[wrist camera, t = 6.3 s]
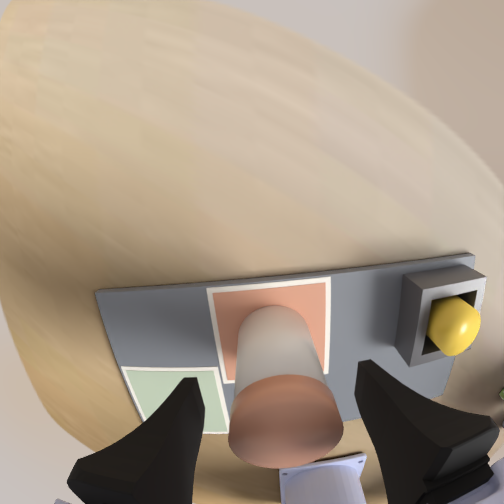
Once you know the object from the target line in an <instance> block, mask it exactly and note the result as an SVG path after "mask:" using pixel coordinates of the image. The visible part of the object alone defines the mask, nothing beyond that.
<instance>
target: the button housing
mask: <svg viewBox="0 0 504 504" xmlns="http://www.w3.org/2000/svg"><path fill="white" fill-rule="evenodd" d="M486 279H487V277H486V276H484V275H483V274H481V273H479V272H477V271H475V270H474V269H472V268H470V267H468V266H466V265H459V266H452V267H446V268H440V269H433V270H427V271H420V272H413V273H406V274H403V277H402V289H401V299H400V308H399V316H398V324H397V331H396V338H395V344H394V347H395V349H396V350H397V351H398V353H399V354H400V355H401V357H402V358H403V360H404V361H405V362H406V364H407V365H408V367H409V368H410V367H413V366H417V365H421V364H424V363H428V362H431V361H435V360H438V359H441V358H445V357H448V356H447V355H445V354H444V353H443V352H442V351H441V350H440V349H439V348H438V347H437V346H436V345H435V343H434V342H433V341H432V340H431V339H430V338H429V337H428V336H427V335H426V331H427V326H428V320H429V314H430V308H431V302H432V300H434V299H439V298H444V297H448V296H453V295H457V296H458V297H460V298H461V299H462V300H464V301H465V302H466V303H468V304H469V305H471V306H472V307H473V308H475V309H476V310H477V311H478V312H479V314H480V310H481V306H482V301H483V296H484V290H485V285H486ZM471 345H472V343H471V344H470V345H469V347H468V348H467V349H465V350H464V351H466V350H469V349H471Z"/></svg>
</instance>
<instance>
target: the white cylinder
mask: <svg viewBox="0 0 504 504" xmlns="http://www.w3.org/2000/svg"><path fill="white" fill-rule="evenodd" d="M343 428H344V427H343V422H342V419H341V416H340V413H339V410H338V407H337V404H336V401H335V398H334V395H333V393H332V391H331V390H330V389H329V388H328V385H327V382H326V379H325V376H324V373H323V370H322V367H321V364H320V361H319V358H318V355H317V352H316V349H315V346H314V343H313V340H312V337H311V334H310V331H309V328H308V325H307V323H306V321H305V319H304V318H303V317H302V316H301V315H300V314H299V313H298V312H297V311H295V310H293V309H291V308H288V307H285V306H278V305H273V306H266V307H262V308H259V309H257V310H255V311H254V312H252V313H251V314H249V315H248V316H247V317H246V318H245V319H244V321H243V322H242V324H241V326H240V328H239V333H238V345H237V360H236V374H235V388H234V400H233V403H232V405H231V410H230V423H229V436H228V442H229V446H230V448H231V450H232V451H233V453H234V454H235V455H236V456H237V457H239V458H240V459H242V460H244V461H245V462H248V463H250V464H253V465H256V466H260V467H266V468H290V467H296V466H301V465H304V464H308V463H310V462H313V461H315V460H317V459H319V458H321V457H323V456H325V455H326V454H327V453H329V452H330V451H331V450H332V449H333V448H335V446H336V445H337V444H338V443H339V441H340V440H341V437H342V435H343Z"/></svg>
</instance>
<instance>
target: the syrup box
mask: <svg viewBox="0 0 504 504" xmlns="http://www.w3.org/2000/svg"><path fill="white" fill-rule="evenodd" d="M499 396H500V397H501V398H502V399H503V400H504V388H503V390H502V391H501V392H500V394H499Z"/></svg>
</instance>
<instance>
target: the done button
mask: <svg viewBox="0 0 504 504" xmlns="http://www.w3.org/2000/svg"><path fill="white" fill-rule="evenodd" d="M480 322H481V319H480V314H479V312H478V311H477V310H476V309H475V308H473V307H472V306H471V305H469V304H468V303H466V302H465V301H464V300H462V299H461V298H460V297H458V296H457V295H453V296H448V297H444V298H439V299H434V300H432V302H431V308H430V314H429V320H428V326H427V331H426V335H427V336H428V337H429V338H430V339H431V340H432V341H433V342H434V343H435V345H436V346H437V347H438V348H439V349H440V350H441V351H442V352H443V353H444V354H445V355H447V356H455V355H457V354H460V353H461V352H463V351H464V350H465V349H467V348H468V347H469V345H470V344H471V343H472V342H473V340H474V339H475V337H476V335H477V333H478V331H479V328H480Z"/></svg>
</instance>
